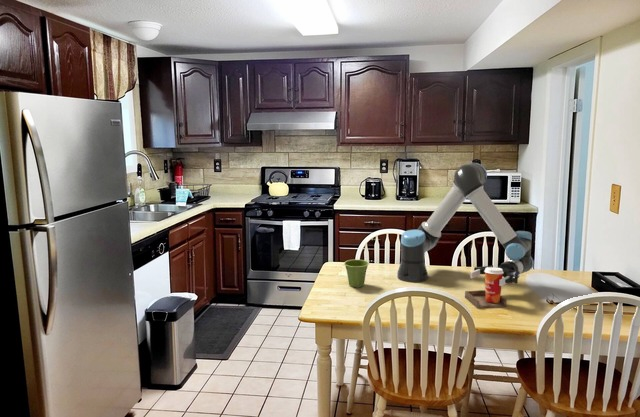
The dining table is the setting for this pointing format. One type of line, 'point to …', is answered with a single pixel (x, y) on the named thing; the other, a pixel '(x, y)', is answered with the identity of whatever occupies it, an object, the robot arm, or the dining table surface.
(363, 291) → the dining table surface
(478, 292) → the walnut bay
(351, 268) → the plant pot
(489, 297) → the paper cup
